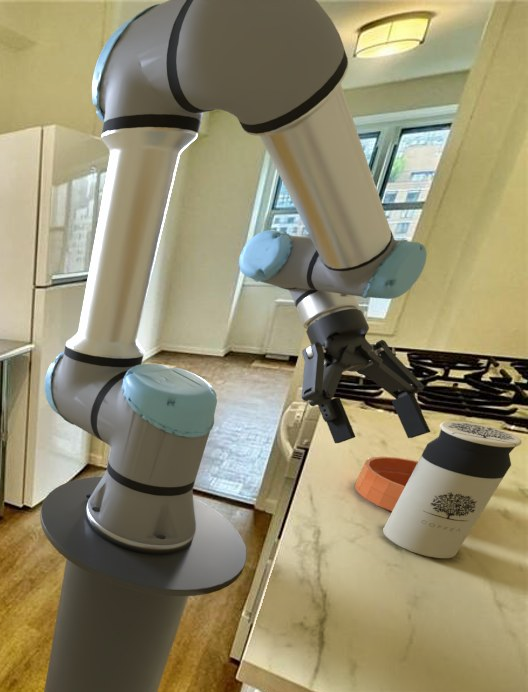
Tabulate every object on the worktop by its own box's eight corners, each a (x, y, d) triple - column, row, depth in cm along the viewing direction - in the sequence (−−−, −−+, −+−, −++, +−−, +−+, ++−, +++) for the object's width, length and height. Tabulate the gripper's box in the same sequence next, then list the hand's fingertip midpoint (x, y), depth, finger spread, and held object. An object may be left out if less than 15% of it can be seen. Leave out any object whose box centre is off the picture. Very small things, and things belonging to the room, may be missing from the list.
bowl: (348, 501, 81) (360, 475, 79) (358, 473, 90) (369, 449, 88) (462, 535, 73) (479, 508, 70) (461, 501, 81) (476, 475, 79)
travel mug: (384, 520, 76) (439, 415, 68) (455, 543, 71) (523, 431, 63) (378, 542, 71) (437, 431, 63) (454, 568, 66) (527, 450, 58)
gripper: (285, 307, 76) (335, 433, 69) (417, 305, 79) (477, 424, 73) (250, 333, 83) (292, 450, 76) (372, 330, 86) (423, 441, 80)
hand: (382, 437), depth 74 cm, fingers open, 13 cm apart
